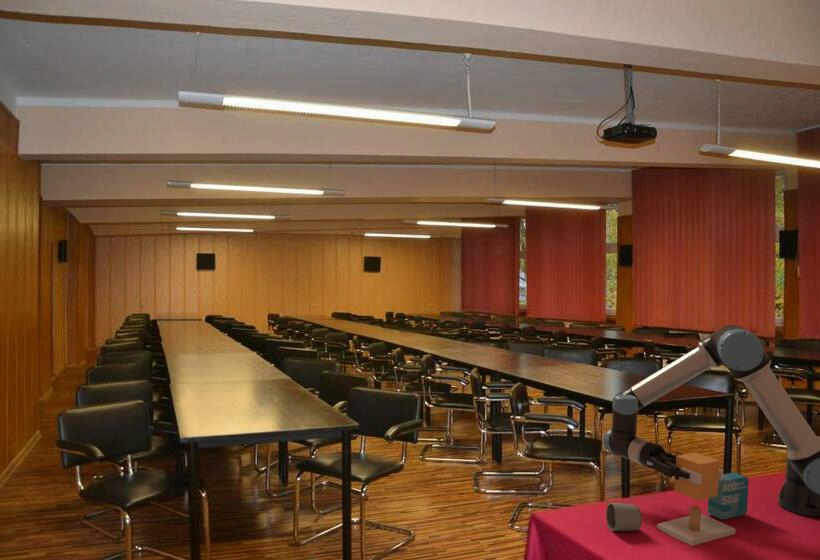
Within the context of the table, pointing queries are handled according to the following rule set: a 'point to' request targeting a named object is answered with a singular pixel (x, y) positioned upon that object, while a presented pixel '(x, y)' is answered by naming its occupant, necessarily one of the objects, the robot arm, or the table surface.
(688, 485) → the tall orange block
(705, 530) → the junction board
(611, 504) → the ceramic mug
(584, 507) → the table surface
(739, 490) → the data package
